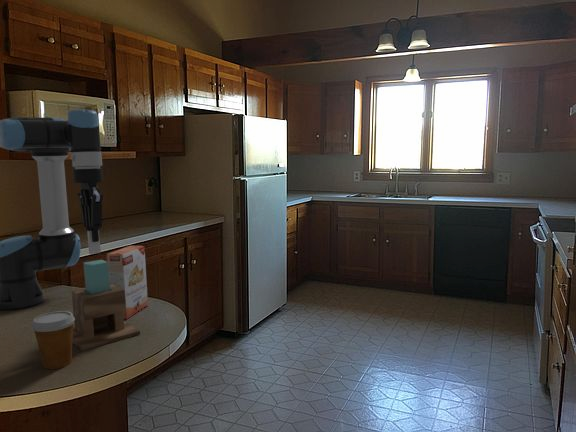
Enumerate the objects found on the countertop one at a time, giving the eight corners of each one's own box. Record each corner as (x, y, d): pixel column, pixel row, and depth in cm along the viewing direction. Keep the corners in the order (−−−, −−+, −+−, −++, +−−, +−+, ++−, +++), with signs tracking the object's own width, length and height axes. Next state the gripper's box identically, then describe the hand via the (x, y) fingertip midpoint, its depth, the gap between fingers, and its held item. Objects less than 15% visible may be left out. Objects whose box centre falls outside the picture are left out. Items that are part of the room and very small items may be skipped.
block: (87, 304, 135) (83, 262, 133) (104, 300, 138) (101, 259, 136) (93, 307, 131) (89, 265, 129) (111, 303, 134) (107, 262, 133)
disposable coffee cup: (76, 368, 114) (71, 320, 112) (31, 375, 111) (26, 325, 110) (81, 353, 123) (77, 308, 121) (40, 358, 120) (35, 313, 119)
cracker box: (127, 320, 147) (122, 253, 144) (110, 319, 148) (104, 253, 146) (149, 305, 161) (145, 245, 158) (133, 305, 162) (128, 244, 159)
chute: (63, 334, 136) (59, 290, 135) (118, 320, 147) (115, 279, 145) (81, 350, 124) (77, 302, 123) (140, 334, 135) (137, 289, 133)
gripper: (65, 168, 132) (73, 252, 135) (81, 168, 122) (89, 258, 125) (93, 167, 137) (100, 248, 140) (110, 167, 127) (117, 253, 130)
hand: (94, 252), depth 132 cm, fingers closed
